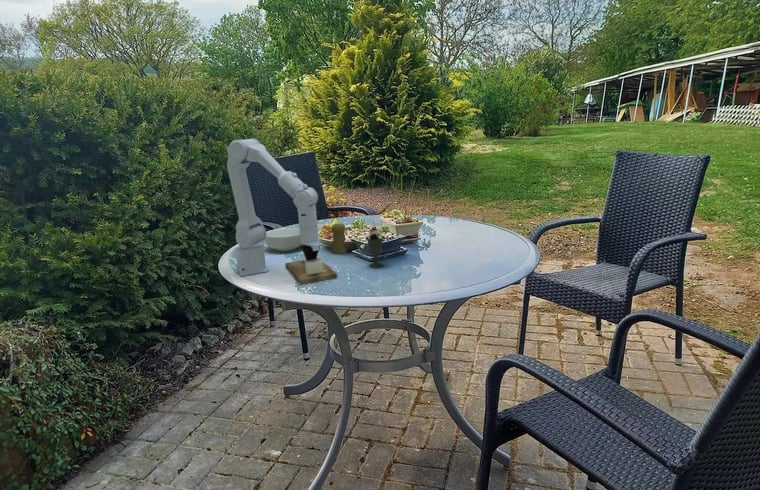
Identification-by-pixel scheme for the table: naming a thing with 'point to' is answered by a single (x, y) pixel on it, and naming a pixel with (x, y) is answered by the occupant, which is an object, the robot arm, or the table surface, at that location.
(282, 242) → the cereal bowl
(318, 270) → the cream block
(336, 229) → the olive brown pepper mill
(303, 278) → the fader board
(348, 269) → the table surface
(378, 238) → the sundae
